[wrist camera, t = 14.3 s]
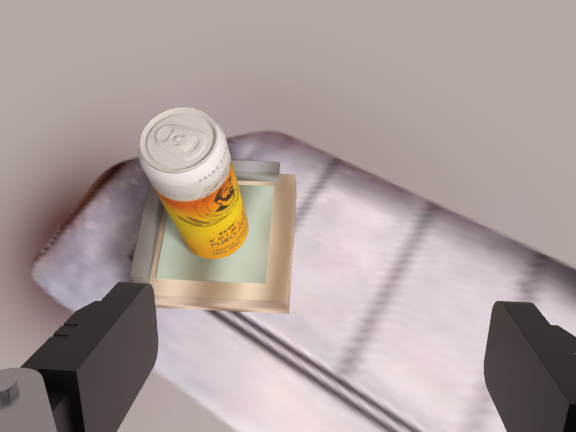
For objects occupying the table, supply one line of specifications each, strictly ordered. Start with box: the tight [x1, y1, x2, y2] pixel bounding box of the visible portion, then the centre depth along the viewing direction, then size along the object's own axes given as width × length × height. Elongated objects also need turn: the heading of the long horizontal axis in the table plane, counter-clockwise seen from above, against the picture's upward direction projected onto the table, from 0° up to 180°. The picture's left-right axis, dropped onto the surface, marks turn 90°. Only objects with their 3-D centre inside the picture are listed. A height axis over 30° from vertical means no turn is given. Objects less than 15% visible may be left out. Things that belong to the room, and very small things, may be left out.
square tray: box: [129, 161, 297, 314], centre depth 48 cm, size 14×13×6 cm
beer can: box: [139, 107, 248, 259], centre depth 40 cm, size 6×6×15 cm
